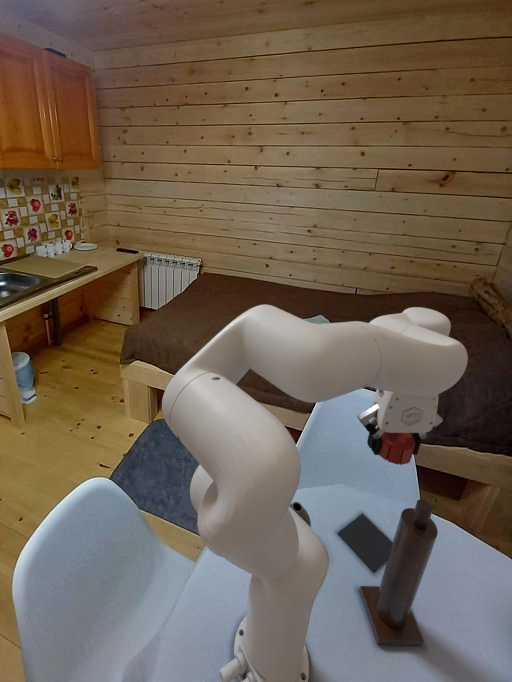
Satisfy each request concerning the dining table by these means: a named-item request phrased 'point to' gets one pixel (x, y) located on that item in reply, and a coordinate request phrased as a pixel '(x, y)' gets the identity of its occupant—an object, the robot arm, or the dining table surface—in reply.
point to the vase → (301, 512)
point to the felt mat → (367, 541)
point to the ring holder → (401, 579)
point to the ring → (397, 447)
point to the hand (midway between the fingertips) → (391, 448)
